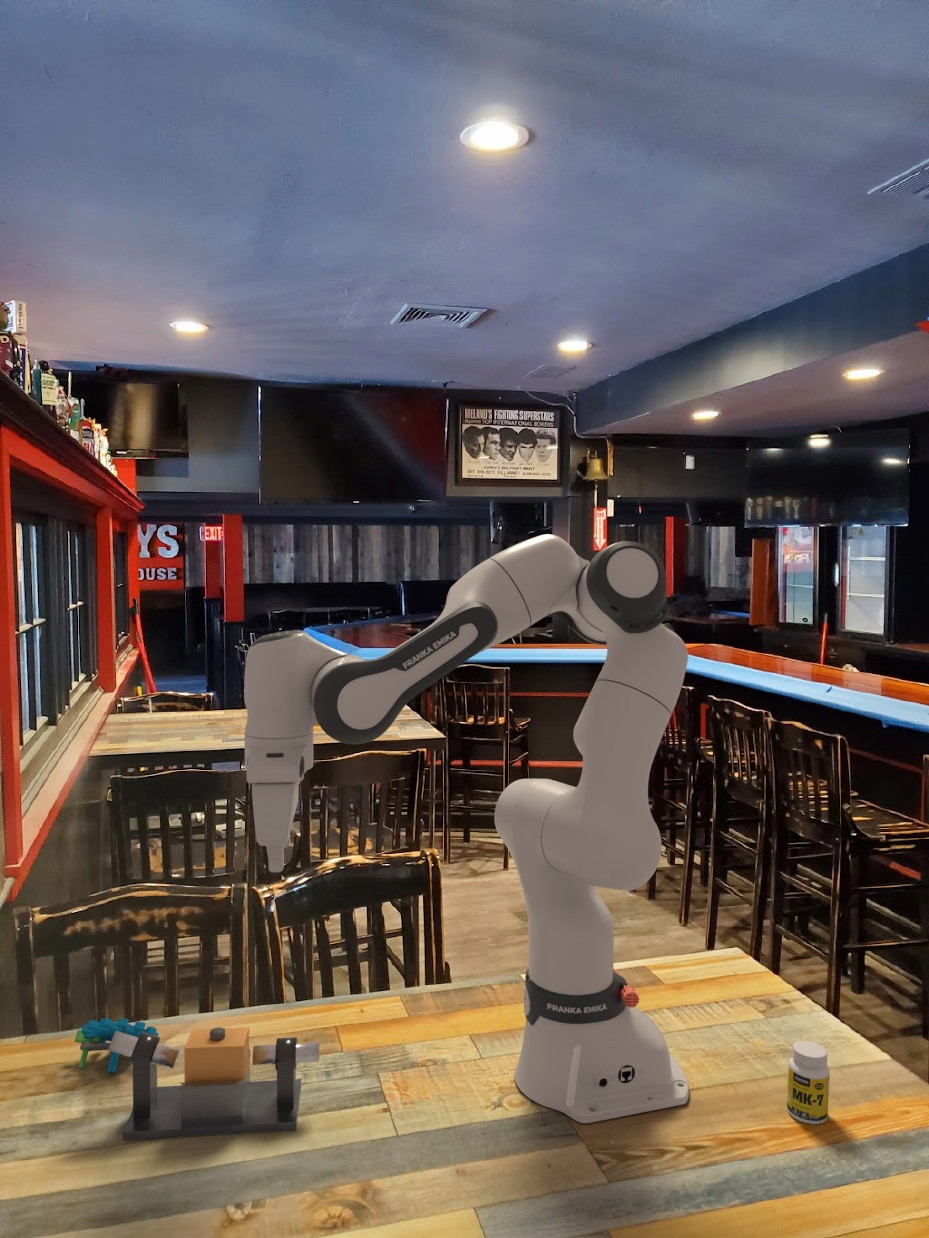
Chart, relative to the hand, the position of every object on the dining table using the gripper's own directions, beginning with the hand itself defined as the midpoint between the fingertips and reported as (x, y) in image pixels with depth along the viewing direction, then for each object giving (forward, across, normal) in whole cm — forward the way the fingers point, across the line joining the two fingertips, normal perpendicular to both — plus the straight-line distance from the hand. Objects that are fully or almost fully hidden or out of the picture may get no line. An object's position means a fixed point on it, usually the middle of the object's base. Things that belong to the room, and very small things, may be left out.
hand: (279, 858), depth 117 cm
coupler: (+24, +8, -7) cm, 27 cm away
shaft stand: (+29, +8, -7) cm, 31 cm away
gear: (+29, -5, -22) cm, 37 cm away
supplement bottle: (+29, +16, +66) cm, 74 cm away
